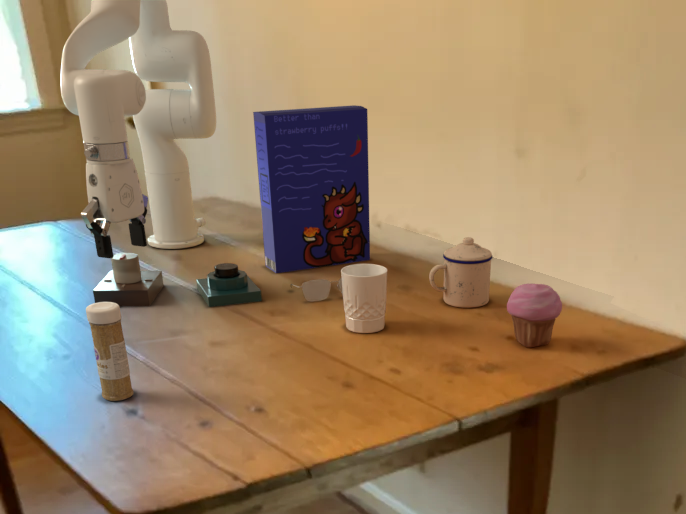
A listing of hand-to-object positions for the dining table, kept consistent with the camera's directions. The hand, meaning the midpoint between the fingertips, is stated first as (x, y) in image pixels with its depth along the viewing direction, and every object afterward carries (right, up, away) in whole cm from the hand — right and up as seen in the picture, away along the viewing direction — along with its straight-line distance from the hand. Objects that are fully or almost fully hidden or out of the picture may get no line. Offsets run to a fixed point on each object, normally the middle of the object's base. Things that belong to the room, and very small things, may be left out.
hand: (122, 251), depth 168 cm
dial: (0, -4, +3) cm, 5 cm away
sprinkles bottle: (+11, -33, -36) cm, 50 cm away
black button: (+19, -4, +3) cm, 19 cm away
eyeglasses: (+38, -6, +7) cm, 39 cm away
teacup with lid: (+63, -9, +2) cm, 64 cm away
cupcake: (+74, -21, -17) cm, 79 cm away
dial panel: (0, -7, +5) cm, 9 cm away
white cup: (+46, -17, -10) cm, 50 cm away
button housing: (+19, -7, +5) cm, 21 cm away
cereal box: (+34, +5, +25) cm, 42 cm away
